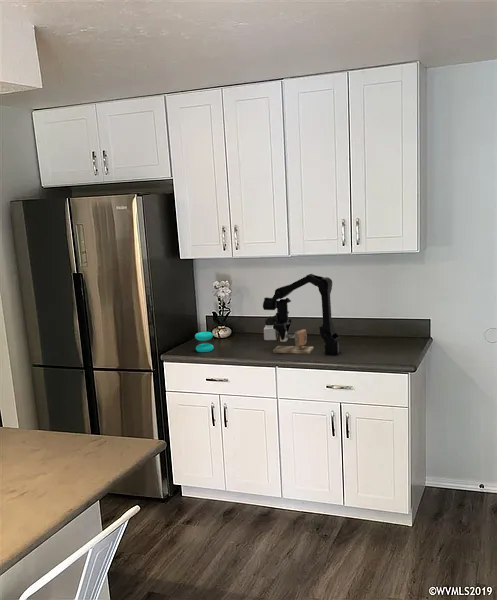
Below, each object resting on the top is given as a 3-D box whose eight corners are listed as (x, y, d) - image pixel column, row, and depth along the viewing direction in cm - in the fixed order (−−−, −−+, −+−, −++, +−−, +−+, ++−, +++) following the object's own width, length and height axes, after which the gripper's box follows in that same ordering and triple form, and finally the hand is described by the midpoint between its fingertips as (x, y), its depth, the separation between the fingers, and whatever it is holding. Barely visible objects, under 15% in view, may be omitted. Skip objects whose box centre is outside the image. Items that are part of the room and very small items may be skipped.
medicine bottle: (276, 340, 353) (275, 320, 351) (264, 340, 355) (263, 320, 353) (278, 337, 360) (277, 317, 358) (266, 337, 362) (265, 317, 360)
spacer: (306, 342, 327) (306, 329, 326) (303, 345, 321) (303, 332, 320) (302, 342, 328) (301, 329, 327) (299, 345, 321) (298, 332, 320)
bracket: (313, 348, 328) (312, 329, 327) (309, 353, 319) (308, 334, 317) (278, 347, 335) (277, 329, 333) (273, 352, 325) (272, 333, 324)
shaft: (307, 340, 325) (306, 331, 325) (305, 341, 322) (305, 332, 321) (282, 339, 330) (281, 330, 329) (280, 341, 326) (279, 332, 325)
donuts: (191, 333, 339) (207, 330, 344) (193, 350, 341) (208, 347, 346) (199, 336, 331) (215, 333, 336) (200, 353, 332) (217, 350, 337)
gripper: (272, 307, 336) (274, 334, 339) (263, 313, 319) (264, 342, 321) (292, 307, 332) (293, 334, 335) (283, 313, 315) (284, 343, 318)
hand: (283, 338), depth 327 cm, fingers open, 6 cm apart
